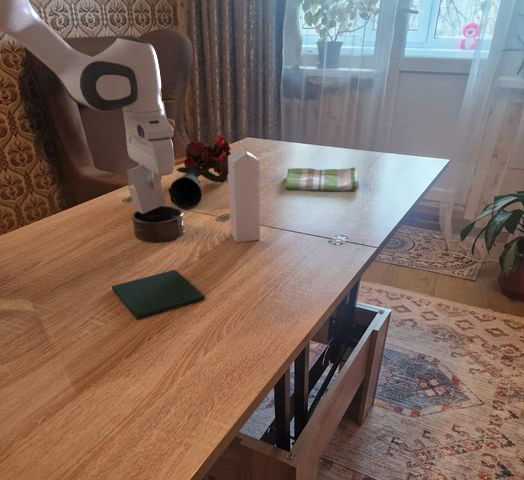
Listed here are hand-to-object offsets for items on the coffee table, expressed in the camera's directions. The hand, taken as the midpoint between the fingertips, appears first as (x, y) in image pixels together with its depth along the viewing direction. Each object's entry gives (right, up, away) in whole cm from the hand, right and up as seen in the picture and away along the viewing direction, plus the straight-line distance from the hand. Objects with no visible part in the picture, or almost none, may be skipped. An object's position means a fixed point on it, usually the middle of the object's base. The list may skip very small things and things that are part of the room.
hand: (152, 185), depth 116 cm
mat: (+6, -28, -19) cm, 35 cm away
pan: (0, -10, +7) cm, 12 cm away
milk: (+22, -11, +5) cm, 25 cm away
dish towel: (+46, +15, +41) cm, 63 cm away
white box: (-1, -5, +2) cm, 5 cm away
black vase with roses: (+8, +10, +35) cm, 37 cm away
